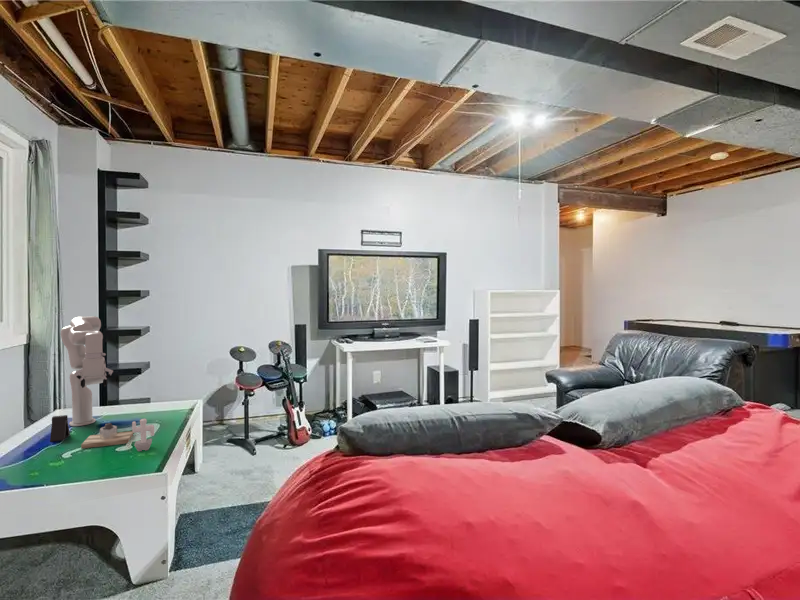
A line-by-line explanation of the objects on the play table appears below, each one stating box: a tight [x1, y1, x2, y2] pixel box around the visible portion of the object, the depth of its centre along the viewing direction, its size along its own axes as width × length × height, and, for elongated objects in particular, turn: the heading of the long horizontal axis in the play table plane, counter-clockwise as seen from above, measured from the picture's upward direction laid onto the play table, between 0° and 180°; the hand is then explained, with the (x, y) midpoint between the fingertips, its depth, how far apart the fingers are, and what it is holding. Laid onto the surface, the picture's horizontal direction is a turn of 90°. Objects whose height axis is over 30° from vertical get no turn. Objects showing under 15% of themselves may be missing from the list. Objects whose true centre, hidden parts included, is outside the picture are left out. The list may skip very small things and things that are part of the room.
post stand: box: [80, 422, 135, 449], centre depth 224 cm, size 14×20×9 cm
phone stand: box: [49, 414, 71, 442], centre depth 228 cm, size 9×6×12 cm, turn 21°
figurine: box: [131, 418, 155, 452], centre depth 213 cm, size 7×9×15 cm
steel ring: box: [99, 425, 118, 440], centre depth 224 cm, size 7×7×5 cm
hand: (94, 386), depth 233 cm, fingers open, 9 cm apart
